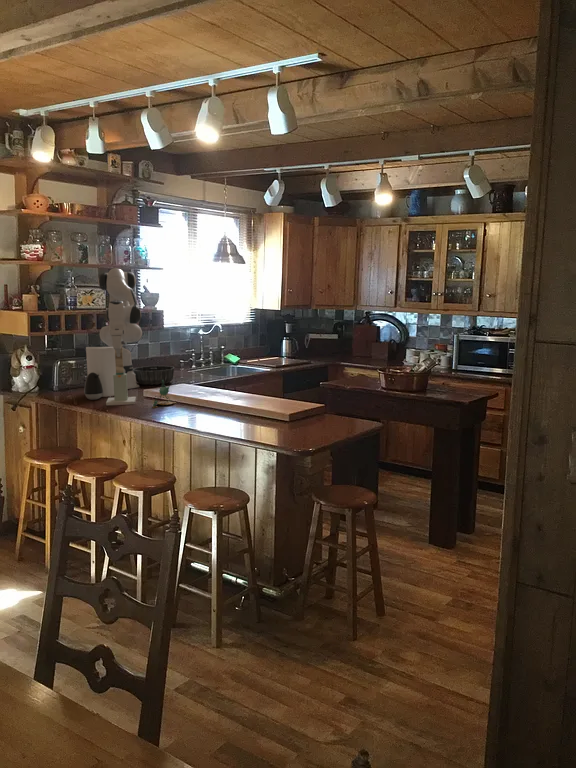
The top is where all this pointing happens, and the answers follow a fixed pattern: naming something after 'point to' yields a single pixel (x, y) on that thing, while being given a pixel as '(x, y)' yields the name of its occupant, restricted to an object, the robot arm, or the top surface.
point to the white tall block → (102, 366)
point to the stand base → (120, 392)
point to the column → (119, 362)
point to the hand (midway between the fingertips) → (119, 356)
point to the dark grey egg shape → (93, 387)
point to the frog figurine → (164, 392)
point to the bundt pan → (154, 374)
